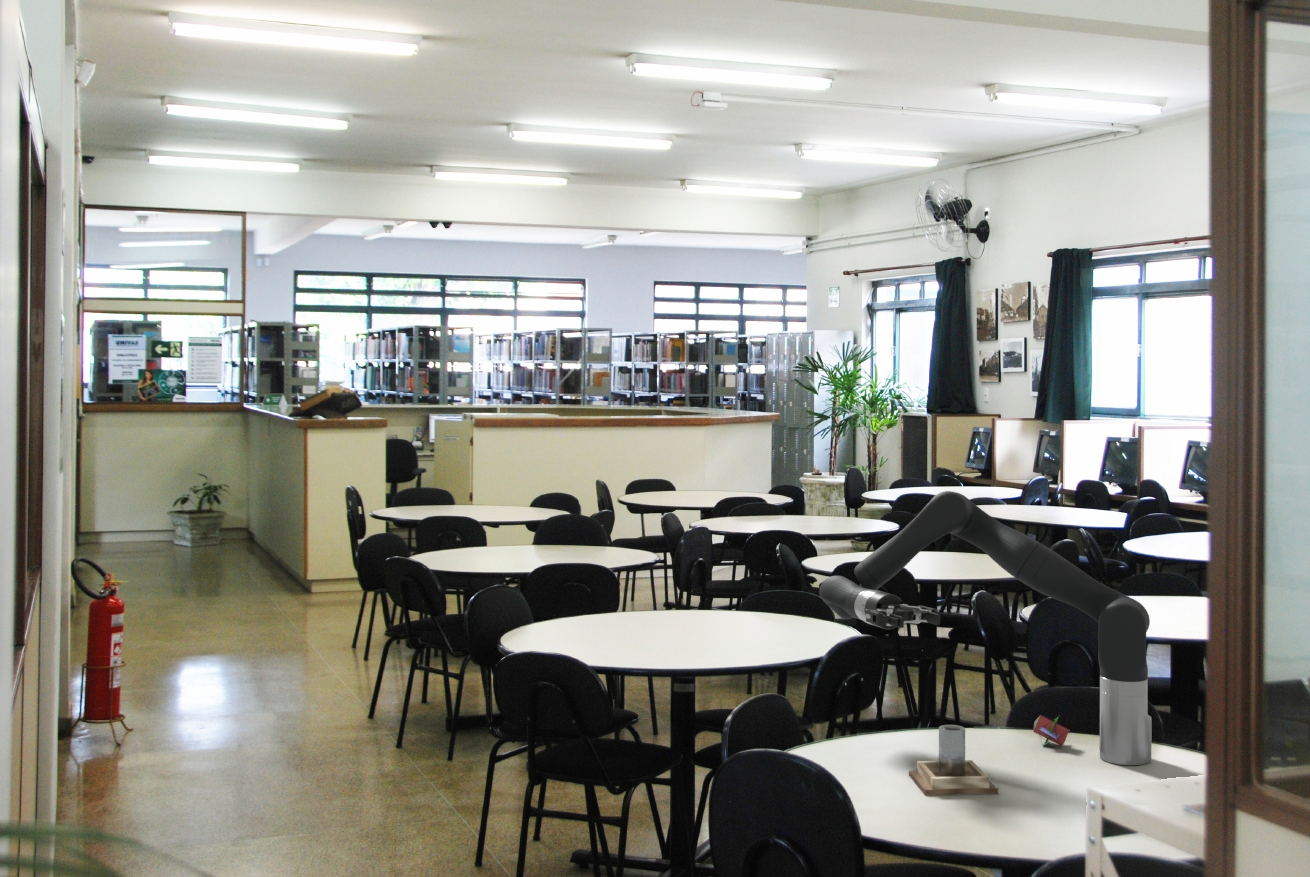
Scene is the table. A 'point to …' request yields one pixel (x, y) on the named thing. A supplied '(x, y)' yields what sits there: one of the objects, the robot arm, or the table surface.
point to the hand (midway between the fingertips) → (920, 621)
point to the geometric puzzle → (1050, 730)
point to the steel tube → (951, 751)
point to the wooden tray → (951, 780)
